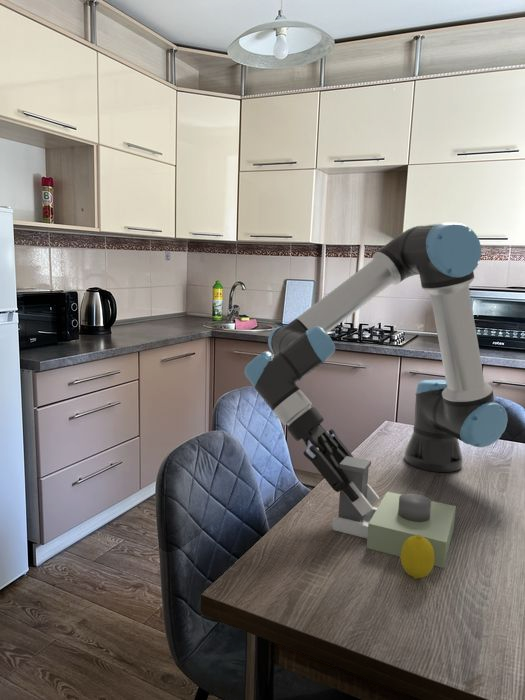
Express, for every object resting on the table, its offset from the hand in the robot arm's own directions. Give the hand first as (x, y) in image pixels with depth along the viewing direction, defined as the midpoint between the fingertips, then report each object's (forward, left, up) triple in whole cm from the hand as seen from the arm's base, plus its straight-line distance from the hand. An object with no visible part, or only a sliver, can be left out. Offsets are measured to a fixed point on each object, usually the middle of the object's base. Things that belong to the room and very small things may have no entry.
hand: (371, 506), depth 106 cm
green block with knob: (-4, +1, -5) cm, 6 cm away
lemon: (-8, +16, -5) cm, 18 cm away
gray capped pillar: (+4, -1, -3) cm, 5 cm away
